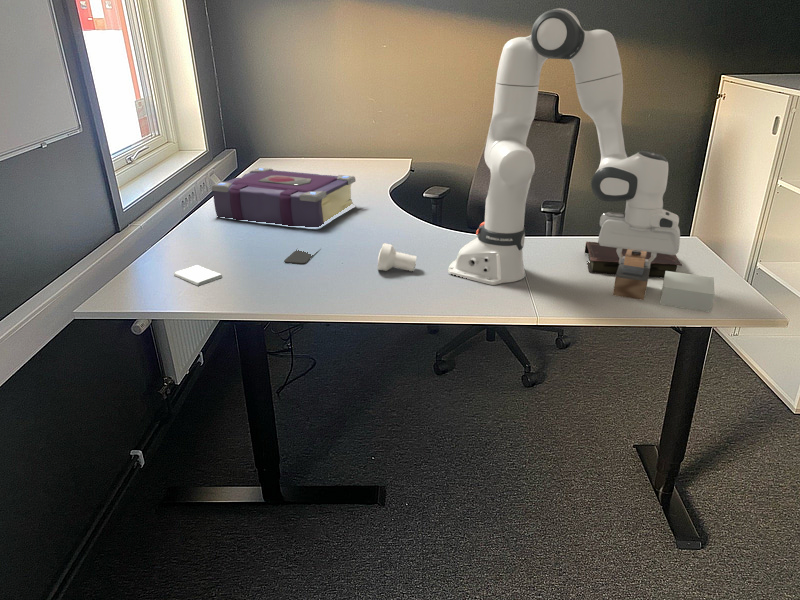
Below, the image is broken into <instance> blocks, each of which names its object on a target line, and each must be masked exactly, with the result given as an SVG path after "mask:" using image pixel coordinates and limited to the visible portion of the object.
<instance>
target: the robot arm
mask: <svg viewBox="0 0 800 600" xmlns="http://www.w3.org/2000/svg"><path fill="white" fill-rule="evenodd" d="M549 59H552V60H554V59H555V60H569V62H570V63H571V67H572V68H573V73H574V81H575V89H576V93H577V98H578V101H579V104H580V107H581V110H582V111H583V112H584V113H585V114H586V115H587V116H589V117H590V119H591V120H592V121H593V123H594V125H595V127H596V132H597V138H598V143H599V144H598V146H599V152H600V162H599V165H598V168H597V170H596V171H595V173H594V174H593V176H592V178H591V182H590V187H591V191H592V193H593V195H594V196H595V197H596V198H597V199H599V200H600V201H603V202H609V203H611V202H625V201H626V204H625V211H624V213H623V212H612V211H606V212H605V213H603V214H601V216H600V218H599V226H600V227H601V228H600V231H599V235H598V238H597V239H598V241H597V242H598V243H599V244H600V246H606V247H614V248H617V250H616V252H617V254H618V256H619V258H620V259H619V264H624V260H625V256H623V255H622V253H621V252H622V249H630V250H637V251H645V252H651V257H650V258H649V259H645V264H644V267H648V268H650V264H651V262H652V261H653V260H654V259H655V258H656V255H657V253H661V254H668V255H676V256H677V254H678V253H679V249H680V243H681V241H680V240H681V231H680V227H679V222H680V217H679V215H677V214H676V213H673V212H672V211H669V210H666V209H664V208H663V207H664V201H663V199H664V194H665V192H666V190H667V185H668V177H669V162H668V160H667V159H666V157H665V156H664V155H662V154H660V153H657V152H654V151H649V150H639V151H638V152H636V153H634V154H632V155H631V156H629V155H628V153H627V149H626V145H625V138H624V130H623V123H622V110H623V99H624V98H623V97H624V77H623V69H622V63H621V57H620V54H619V49H618V46H617V42H616V40H615V37H614V35H613V34H612V33H611V32H610V31H608V30H606V29H599V28H598V29H593V30H584V29H583V28H582V24H581V21H580V19H579V17H578V16H577V15H576V14H574V12H572V11H570V10H569V9H566V8H560V7H559V8H554V9H550V10H547V11H545V12H543V13H542V14H540V15H539V16H538V17H537V19H535V22H534V23H533V25H532V28H531V31H530V35H528V36H518V37H514V38H512V39H509V40H508V41H507V42H506V43H504V45H503V47H502V51H501V54H500V57H499V60H498V61H499V62H498V67H497V72H496V79H495V86H494V87H495V89H494V97H493V99H494V100H493V107H492V114H491V115H492V116H491V120H490V124H489V127H488V132H487V137H486V144H485V147H484V152H483V153H484V154H483V155H484V161H485V164H486V166H487V167H488V169H489V171H490V181H489V187H488V191H487V196H486V198H485V207H484V209H485V210H484V221H483V222H481V223H480V224H479V227H478V228H477V230H476V231H475V232H476V233H475V235H476V237H475V238H474V239H472V240H471V241H469V242H467V243H466V244H464V245H463V246H462V247H461V248H460V250H459V252H458V253H457V256H456V259H455V260H453V261H452V262H451V263H450V264H449V266H448V270H447V271H448V274H449V273H450V274H449V275H451V274H453V275H452V276H454V275H456V276H455V277H458V276H460V277H459V278H462V277H463V279H466V278H467V280H470V281H475V282H479V283H483V284H487V285H491V286H495V285H500V284H504V283H505V284H506V283H514V282H518V281H520V280H523V279H524V278H525V277H526V270H525V266H524V258H523V255H524V253H523V248H524V245H525V240H526V239H525V237H526V233H525V232H526V228H525V227H524V225H525V214H526V204H527V198H528V194H529V190H530V186H531V182H532V178H533V176H534V174H535V171H536V170H535V169H536V161H535V158H534V157H535V156H534V155H533V152H532V151H531V150H530V148H529V147H527V141H528V137H529V133H530V130H531V126H532V123H533V121H534V119H535V117H536V110H537V102H538V93H539V87H540V81H541V72H542V67H543V66H544V63H546V61H547V60H549Z"/></svg>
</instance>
